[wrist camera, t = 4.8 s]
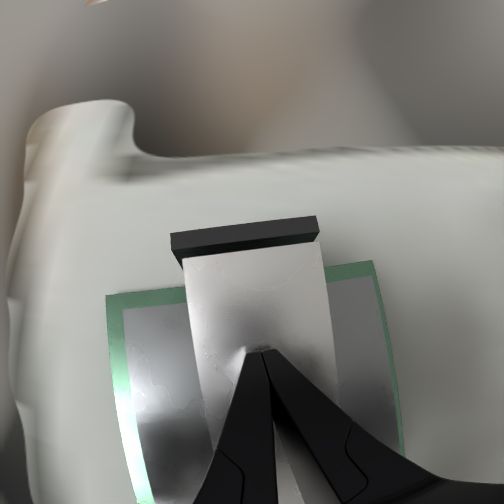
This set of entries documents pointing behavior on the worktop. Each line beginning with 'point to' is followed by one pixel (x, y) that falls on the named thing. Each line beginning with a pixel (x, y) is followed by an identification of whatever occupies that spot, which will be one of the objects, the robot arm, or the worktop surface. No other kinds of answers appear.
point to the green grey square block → (186, 373)
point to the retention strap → (260, 327)
